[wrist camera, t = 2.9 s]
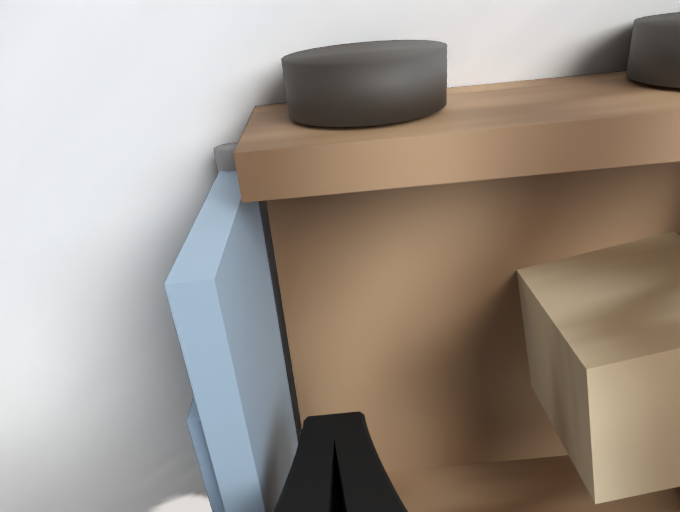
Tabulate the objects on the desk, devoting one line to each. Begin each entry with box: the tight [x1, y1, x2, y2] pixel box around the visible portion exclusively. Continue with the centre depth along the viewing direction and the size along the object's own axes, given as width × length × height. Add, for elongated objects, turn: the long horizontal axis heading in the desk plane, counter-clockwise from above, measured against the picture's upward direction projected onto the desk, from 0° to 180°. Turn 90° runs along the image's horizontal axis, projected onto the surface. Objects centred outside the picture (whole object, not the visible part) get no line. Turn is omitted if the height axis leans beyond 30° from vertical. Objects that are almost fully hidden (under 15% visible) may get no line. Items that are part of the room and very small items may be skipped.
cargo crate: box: [517, 231, 680, 504], centre depth 14 cm, size 4×4×4 cm
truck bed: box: [233, 12, 680, 512], centre depth 15 cm, size 14×17×4 cm
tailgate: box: [164, 143, 298, 512], centre depth 14 cm, size 1×12×6 cm, turn 4°
